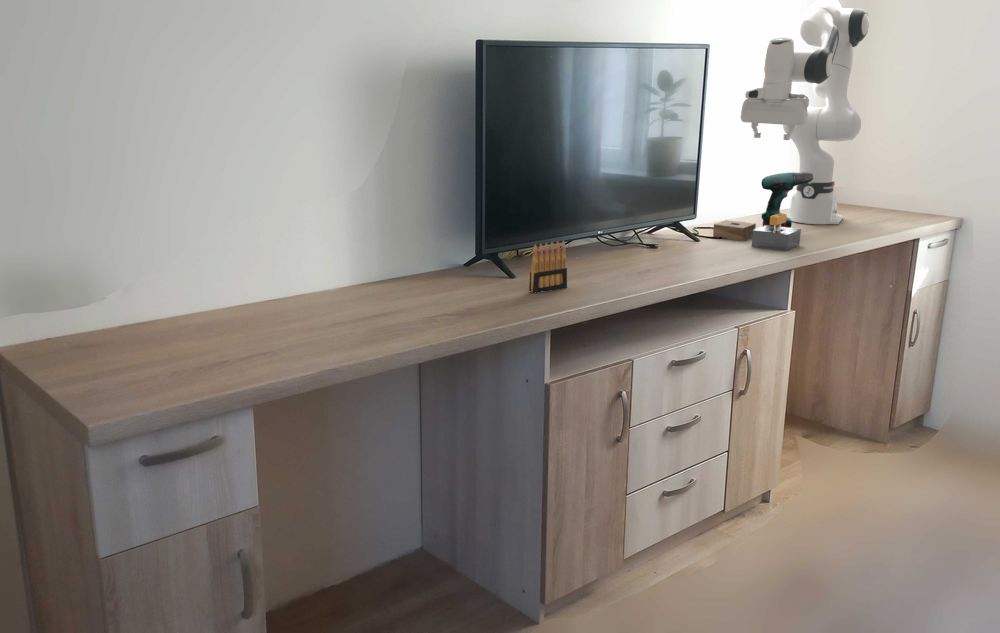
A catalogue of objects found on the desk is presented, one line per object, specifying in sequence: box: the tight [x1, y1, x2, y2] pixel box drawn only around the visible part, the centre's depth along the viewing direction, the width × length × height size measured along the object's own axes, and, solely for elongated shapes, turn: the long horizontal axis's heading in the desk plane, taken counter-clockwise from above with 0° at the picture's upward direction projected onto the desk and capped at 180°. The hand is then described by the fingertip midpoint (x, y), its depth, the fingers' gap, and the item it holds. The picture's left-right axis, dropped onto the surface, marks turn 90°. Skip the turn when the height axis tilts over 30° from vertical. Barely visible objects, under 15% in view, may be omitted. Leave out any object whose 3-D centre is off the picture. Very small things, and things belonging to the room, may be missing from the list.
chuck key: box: [769, 212, 788, 231], centre depth 291 cm, size 8×2×10 cm, turn 144°
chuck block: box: [751, 225, 802, 252], centre depth 291 cm, size 11×11×5 cm
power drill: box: [761, 171, 814, 228], centre depth 310 cm, size 7×16×20 cm, turn 89°
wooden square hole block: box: [712, 219, 757, 241], centre depth 305 cm, size 10×10×4 cm
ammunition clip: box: [528, 240, 568, 294], centre depth 234 cm, size 11×2×12 cm, turn 126°
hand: (771, 138), depth 296 cm, fingers open, 8 cm apart
